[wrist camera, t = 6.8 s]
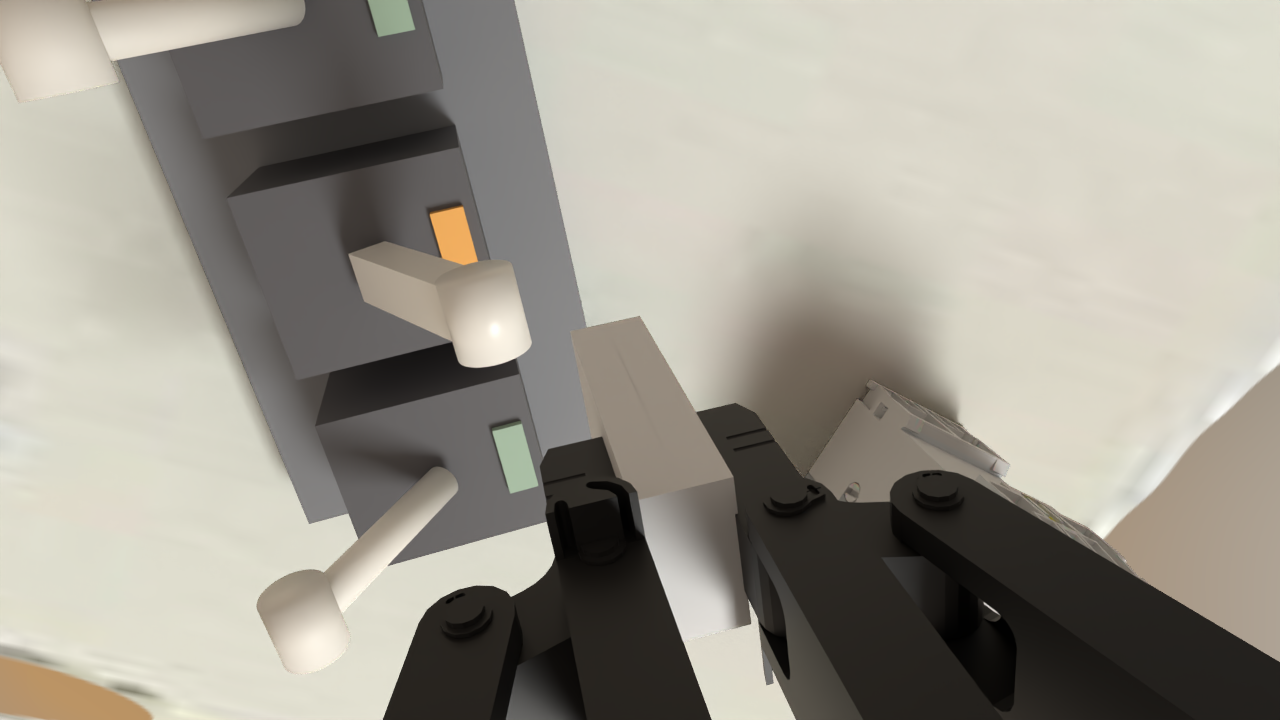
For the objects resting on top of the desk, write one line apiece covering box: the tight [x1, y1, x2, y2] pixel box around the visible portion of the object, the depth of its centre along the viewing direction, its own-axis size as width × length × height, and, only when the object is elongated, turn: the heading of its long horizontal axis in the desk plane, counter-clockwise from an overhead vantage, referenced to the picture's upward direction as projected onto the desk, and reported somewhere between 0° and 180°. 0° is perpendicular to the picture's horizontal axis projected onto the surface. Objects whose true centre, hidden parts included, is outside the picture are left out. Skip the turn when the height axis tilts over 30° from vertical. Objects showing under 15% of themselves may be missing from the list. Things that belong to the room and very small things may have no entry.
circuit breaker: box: [805, 379, 1147, 615], centre depth 45 cm, size 8×14×15 cm, turn 149°
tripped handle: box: [348, 241, 532, 368], centre depth 27 cm, size 2×2×9 cm
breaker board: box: [0, 0, 592, 674], centre depth 31 cm, size 15×26×17 cm, turn 10°
